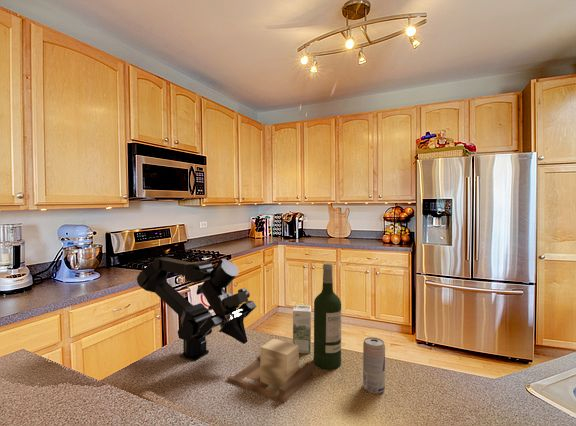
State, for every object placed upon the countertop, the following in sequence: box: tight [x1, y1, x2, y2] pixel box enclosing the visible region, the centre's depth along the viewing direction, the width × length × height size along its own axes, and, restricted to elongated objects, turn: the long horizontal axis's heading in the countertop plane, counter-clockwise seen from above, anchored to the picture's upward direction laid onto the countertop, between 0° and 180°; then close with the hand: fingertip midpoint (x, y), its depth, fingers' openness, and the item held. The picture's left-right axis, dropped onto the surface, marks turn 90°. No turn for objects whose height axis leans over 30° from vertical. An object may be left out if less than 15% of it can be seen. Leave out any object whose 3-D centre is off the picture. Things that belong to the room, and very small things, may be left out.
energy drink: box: [362, 336, 386, 394], centre depth 77 cm, size 5×5×12 cm
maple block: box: [259, 338, 300, 388], centre depth 78 cm, size 8×6×9 cm
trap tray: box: [226, 355, 313, 404], centre depth 79 cm, size 18×14×4 cm
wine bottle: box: [313, 262, 342, 371], centre depth 87 cm, size 8×8×30 cm
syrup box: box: [292, 304, 312, 354], centre depth 96 cm, size 6×6×14 cm
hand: (245, 342), depth 84 cm, fingers closed
